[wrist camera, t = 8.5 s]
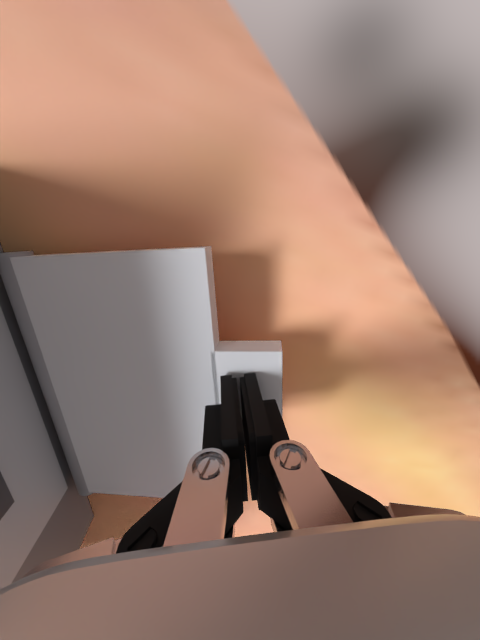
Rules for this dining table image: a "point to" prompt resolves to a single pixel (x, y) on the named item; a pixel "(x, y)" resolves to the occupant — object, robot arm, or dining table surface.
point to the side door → (130, 359)
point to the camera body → (31, 466)
